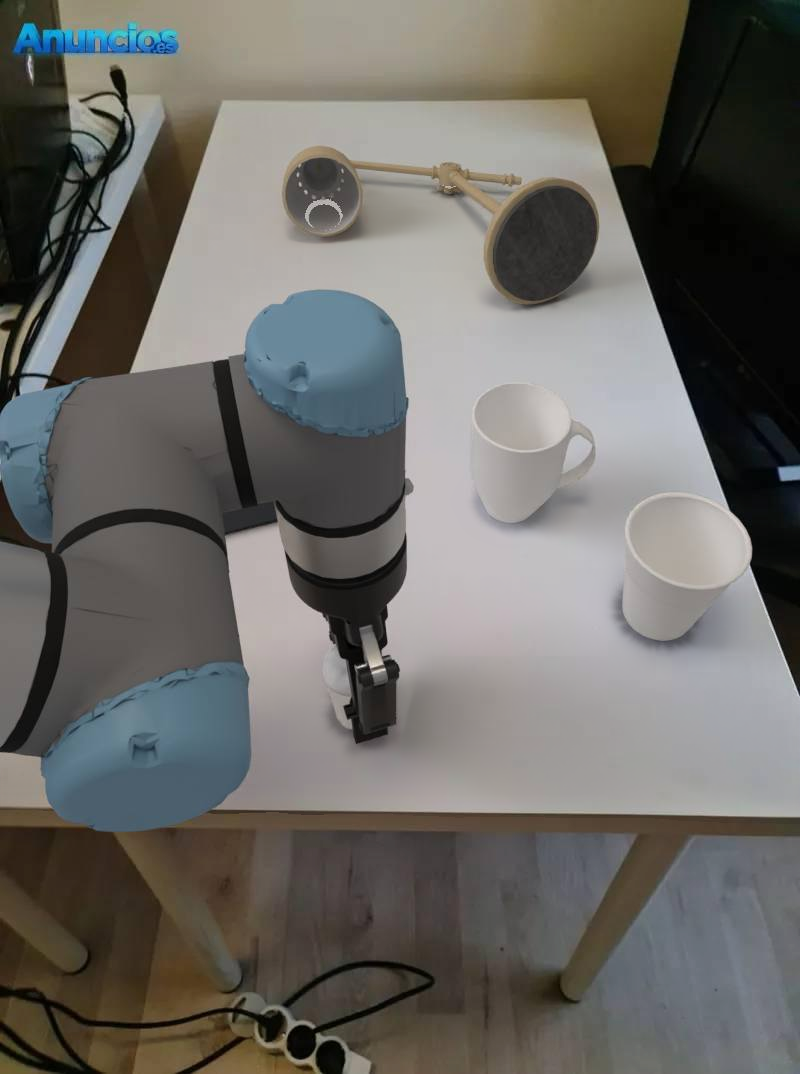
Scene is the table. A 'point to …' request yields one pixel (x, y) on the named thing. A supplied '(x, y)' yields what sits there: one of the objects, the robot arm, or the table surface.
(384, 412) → the robot arm
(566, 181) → the desk lamp
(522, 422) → the mug
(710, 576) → the cup
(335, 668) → the milkshake
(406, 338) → the table surface
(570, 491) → the table surface
